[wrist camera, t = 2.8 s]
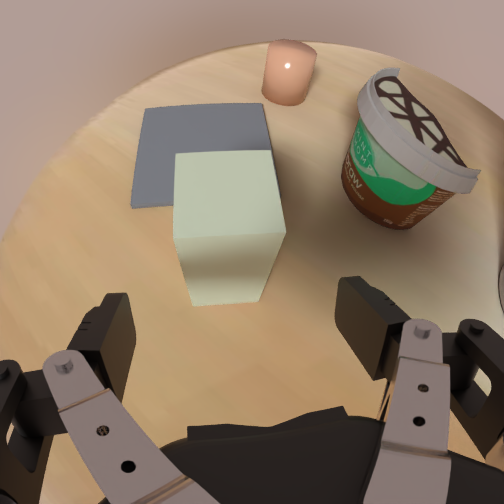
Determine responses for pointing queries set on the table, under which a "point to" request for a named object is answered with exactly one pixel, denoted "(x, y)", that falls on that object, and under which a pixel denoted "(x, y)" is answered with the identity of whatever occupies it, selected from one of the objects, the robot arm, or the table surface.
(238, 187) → the sage block
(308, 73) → the peach pillar candle
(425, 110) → the food container
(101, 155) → the table surface
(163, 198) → the plate
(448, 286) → the table surface
